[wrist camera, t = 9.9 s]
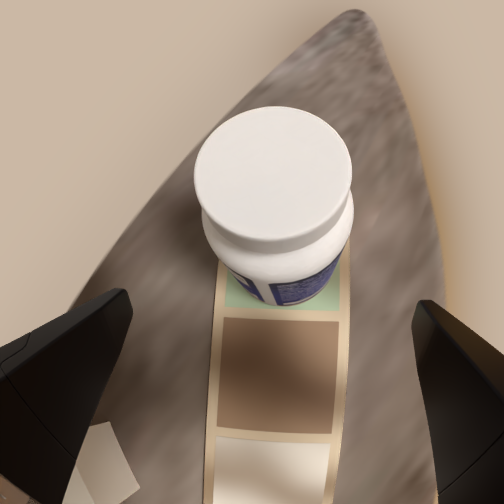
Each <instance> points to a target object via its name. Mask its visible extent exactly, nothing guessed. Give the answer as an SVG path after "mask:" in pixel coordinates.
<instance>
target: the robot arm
mask: <svg viewBox="0 0 504 504" xmlns="http://www.w3.org/2000/svg"><path fill="white" fill-rule="evenodd" d="M132 316H133V309H132V306H131V302H130V299H129V296H128V292H127V291H126V290H125V289H120V288H114V289H111V290H110V291H108V292H106V293H104V294H102V295H100V296H98V297H96V298H94V299H92V300H90V301H88V302H86V303H84V304H82V305H80V306H78V307H76V308H75V309H73V310H71V311H69V312H67V313H65V314H63V315H61V316H59V317H57V318H55V319H54V320H52V321H50V322H48V323H46V324H44V325H42V326H40V327H39V328H37V329H35V330H33V331H32V332H29V333H27V334H25V335H24V336H22V337H20V338H18V339H16V340H14V341H12V342H10V343H8V344H6V345H4V346H2V347H0V504H28V503H29V501H30V499H32V500H34V501H35V502H37V503H38V504H62V502H63V499H64V496H65V493H66V490H67V487H68V484H69V481H70V478H71V475H72V472H73V469H74V467H75V464H76V460H77V458H78V455H79V452H80V450H81V447H82V444H83V442H84V439H85V436H86V434H87V431H88V429H89V426H90V424H91V421H92V419H93V416H94V414H95V411H96V409H97V406H98V404H99V401H100V399H101V396H102V394H103V392H104V389H105V387H106V385H107V382H108V380H109V378H110V375H111V373H112V371H113V368H114V366H115V364H116V362H117V359H118V357H119V355H120V352H121V349H122V346H123V343H124V340H125V337H126V334H127V331H128V328H129V325H130V322H131V319H132ZM411 329H412V336H413V343H414V350H415V357H416V365H417V372H418V377H419V381H420V386H421V390H422V395H423V400H424V405H425V410H426V415H427V420H428V426H429V431H430V437H431V443H432V450H433V457H434V464H435V472H436V481H437V490H438V495H439V496H438V504H504V355H503V354H502V353H501V352H499V351H498V350H497V349H496V348H494V347H493V346H492V345H491V344H489V343H488V342H487V341H485V340H484V339H483V338H482V337H480V336H479V335H478V334H476V333H475V332H474V331H473V330H471V329H470V328H469V327H467V326H466V325H465V324H463V323H462V322H461V321H459V320H458V319H457V318H455V317H454V316H453V315H451V314H450V313H449V312H447V311H446V310H445V309H443V308H442V307H441V306H439V305H438V304H437V303H435V302H434V301H432V300H420V301H419V302H418V303H417V306H416V310H415V313H414V316H413V320H412V325H411Z"/></svg>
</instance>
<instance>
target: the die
mask: <svg viewBox="0 0 504 504" xmlns="http://www.w3.org/2000/svg"><path fill="white" fill-rule="evenodd" d="M139 488H140V487H139V485H138V483H137V481H136V479H135V477H134V475H133V473H132V471H131V469H130V467H129V465H128V463H127V460H126V458H125V456H124V454H123V452H122V450H121V447H120V445H119V443H118V441H117V438H116V436H115V434H114V431H113V429H112V426H111V424H110V421H109V422H105V423H101V424H97V425H93V426H89V429H88V431H87V434H86V436H85V439H84V442H83V444H82V447H81V450H80V452H79V455H78V458H77V460H76V464H75V467H74V469H73V472H72V475H71V478H70V481H69V484H68V487H67V490H66V493H65V496H64V499H63V502H62V504H119V503H121V502H122V501H124V500H125V499H126V498H128V497H129V496H130V495H132V494H133V493H134V492H136V491H137V490H138V489H139Z"/></svg>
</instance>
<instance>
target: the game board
mask: <svg viewBox="0 0 504 504" xmlns="http://www.w3.org/2000/svg"><path fill="white" fill-rule="evenodd" d="M349 324H350V247H349V238H348V240H347V242H346V245H345V247H344V249H343V251H342V254H341V256H340V258H339V260H338V263H337V265H336V267H335V269H334V272H333V274H332V276H331V278H330V280H329V282H328V283H327V285H326V286H325V287H324V288H323V290H322V291H321V292H320V293H319V294H317V295H316V296H315V297H313V298H312V299H310V300H309V301H306V302H304V303H302V304H299V305H295V306H288V307H281V306H273V305H269V304H266V303H264V302H261V301H259V300H258V299H256V298H254V297H253V296H252V295H250V294H249V293H248V292H247V291H246V290H245V289H244V288H243V287H242V286H241V284H240V283H239V282H238V281H237V280H236V278H235V277H234V276H233V275H232V274H231V272H230V271H229V270H228V269H227V268H226V266H225V265H224V264H223V263H222V262H221V260H220V259H219V261H218V272H217V283H216V295H215V306H214V319H213V332H212V345H211V359H210V374H209V390H208V407H207V425H206V446H205V469H204V499H203V504H332V502H333V496H334V490H335V483H336V477H337V470H338V463H339V455H340V447H341V439H342V430H343V420H344V410H345V398H346V385H347V370H348V351H349Z"/></svg>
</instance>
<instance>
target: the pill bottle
mask: <svg viewBox="0 0 504 504" xmlns="http://www.w3.org/2000/svg"><path fill="white" fill-rule="evenodd" d="M351 179H352V165H351V159H350V155H349V152H348V150H347V147H346V145H345V143H344V142H343V140H342V139H341V137H340V136H339V134H338V133H337V132H336V131H335V130H334V129H333V128H332V127H331V126H330V125H328V124H327V123H326V122H325V121H323V120H322V119H320V118H319V117H317V116H315V115H313V114H310V113H308V112H305V111H302V110H299V109H295V108H289V107H279V106H276V107H263V108H257V109H253V110H249V111H246V112H243V113H241V114H238V115H236V116H235V117H233V118H231V119H229V120H227V121H226V122H224V123H223V124H222V125H220V126H219V127H218V128H217V129H216V130H215V131H214V132H213V133H212V134H211V135H210V136H209V137H208V138H207V140H206V141H205V143H204V144H203V146H202V148H201V149H200V152H199V154H198V156H197V159H196V163H195V168H194V186H195V191H196V195H197V198H198V200H199V203H200V205H201V207H202V223H203V228H204V232H205V235H206V238H207V240H208V242H209V244H210V246H211V248H212V249H213V251H214V253H215V254H216V256H217V257H218V258H219V259H220V260H221V262H222V263H223V264H224V265H225V266H226V268H227V269H228V270H229V271H230V272H231V274H232V275H233V276H234V277H235V278H236V280H237V281H238V282H239V283H240V284H241V286H242V287H243V288H244V289H245V290H246V291H247V292H248V293H249V294H250V295H252V296H253V297H254V298H256V299H258V300H259V301H261V302H264V303H266V304H269V305H273V306H281V307H288V306H295V305H299V304H302V303H304V302H306V301H309V300H310V299H312V298H313V297H315V296H316V295H317V294H319V293H320V292H321V291H322V290H323V288H324V287H325V286H326V285H327V283H328V282H329V280H330V278H331V276H332V274H333V272H334V269H335V267H336V265H337V263H338V260H339V258H340V256H341V254H342V251H343V249H344V247H345V245H346V242H347V240H348V238H349V235H350V232H351V228H352V223H353V215H354V207H353V199H352V194H351V191H350V185H351Z"/></svg>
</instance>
